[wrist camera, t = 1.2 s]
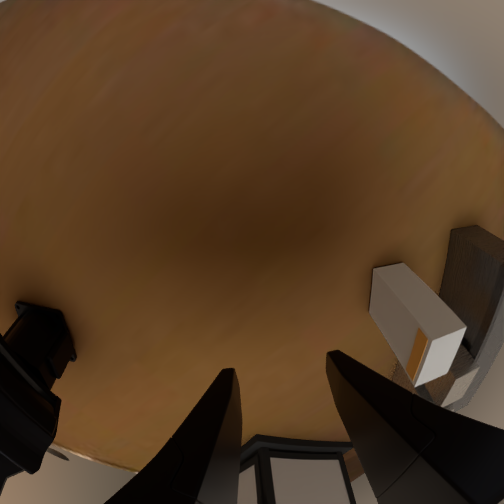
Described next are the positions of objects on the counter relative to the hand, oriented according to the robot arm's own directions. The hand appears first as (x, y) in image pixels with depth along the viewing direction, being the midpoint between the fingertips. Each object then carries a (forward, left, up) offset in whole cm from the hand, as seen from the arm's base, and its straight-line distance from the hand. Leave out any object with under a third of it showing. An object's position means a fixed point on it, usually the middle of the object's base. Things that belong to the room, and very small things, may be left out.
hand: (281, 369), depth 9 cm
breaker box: (+20, -7, -12) cm, 25 cm away
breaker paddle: (+12, -3, -12) cm, 17 cm away
